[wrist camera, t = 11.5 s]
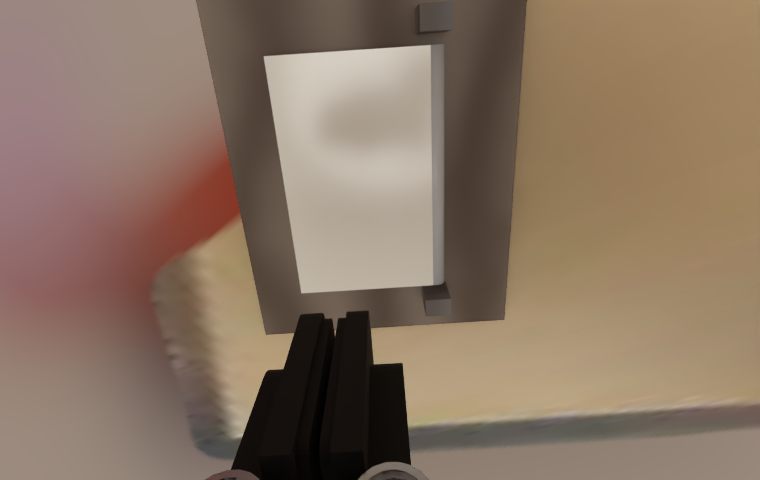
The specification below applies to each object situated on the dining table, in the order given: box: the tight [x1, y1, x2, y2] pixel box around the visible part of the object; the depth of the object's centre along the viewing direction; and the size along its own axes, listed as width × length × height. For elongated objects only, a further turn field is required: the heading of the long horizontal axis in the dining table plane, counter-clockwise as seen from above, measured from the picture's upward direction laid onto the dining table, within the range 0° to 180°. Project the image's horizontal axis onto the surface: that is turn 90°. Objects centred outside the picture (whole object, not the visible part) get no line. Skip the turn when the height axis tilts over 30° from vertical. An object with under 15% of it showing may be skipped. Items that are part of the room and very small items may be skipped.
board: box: [196, 0, 527, 335], centre depth 25 cm, size 17×22×3 cm
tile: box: [264, 44, 445, 293], centre depth 24 cm, size 9×14×1 cm, turn 3°
